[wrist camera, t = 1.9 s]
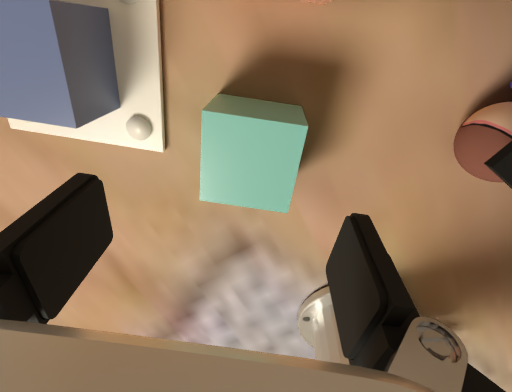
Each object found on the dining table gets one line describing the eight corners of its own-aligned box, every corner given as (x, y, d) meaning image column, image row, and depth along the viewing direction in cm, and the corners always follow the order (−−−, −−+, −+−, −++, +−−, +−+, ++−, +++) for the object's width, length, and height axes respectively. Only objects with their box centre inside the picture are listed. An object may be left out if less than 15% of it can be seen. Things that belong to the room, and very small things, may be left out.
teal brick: (301, 105, 19) (308, 126, 15) (285, 178, 22) (287, 213, 18) (218, 93, 19) (201, 110, 15) (214, 168, 22) (199, 200, 18)
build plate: (157, -46, 15) (104, -80, 11) (165, 150, 22) (134, 182, 17) (-54, -81, 15) (-202, -132, 11) (16, 126, 21) (-57, 152, 17)
